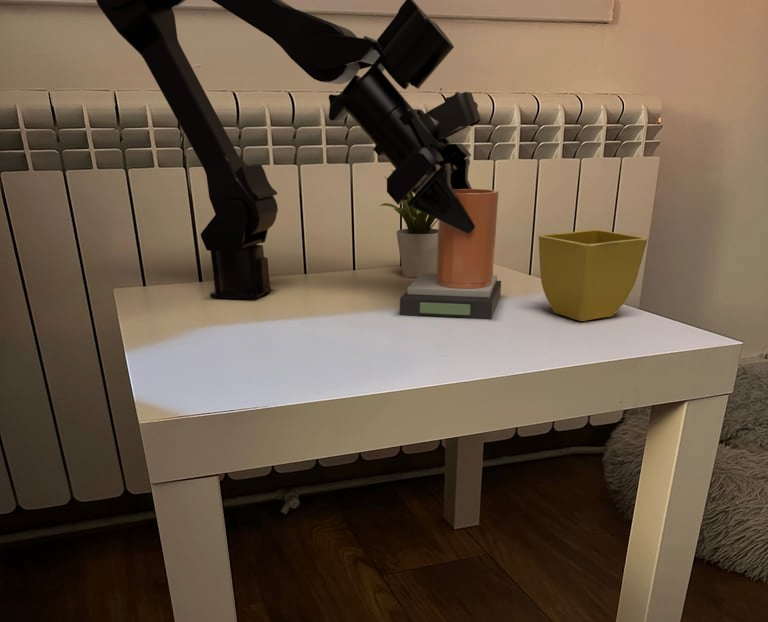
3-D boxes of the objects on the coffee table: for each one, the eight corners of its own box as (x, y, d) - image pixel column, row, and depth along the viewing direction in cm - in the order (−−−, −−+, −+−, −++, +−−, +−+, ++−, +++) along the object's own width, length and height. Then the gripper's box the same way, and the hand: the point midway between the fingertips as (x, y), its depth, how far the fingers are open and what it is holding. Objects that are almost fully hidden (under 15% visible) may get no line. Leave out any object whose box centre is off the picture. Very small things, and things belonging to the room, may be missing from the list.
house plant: (475, 284, 104) (482, 157, 96) (378, 285, 103) (377, 158, 96) (464, 267, 116) (469, 153, 108) (377, 268, 116) (376, 154, 108)
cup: (453, 290, 86) (458, 194, 81) (427, 280, 92) (429, 190, 87) (502, 285, 89) (509, 192, 84) (473, 276, 94) (478, 187, 89)
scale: (399, 315, 87) (399, 291, 86) (418, 293, 99) (419, 271, 97) (490, 319, 85) (492, 295, 84) (500, 296, 97) (501, 274, 95)
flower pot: (578, 328, 81) (588, 243, 77) (530, 312, 88) (536, 234, 84) (637, 319, 85) (649, 237, 80) (586, 304, 92) (595, 229, 87)
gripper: (416, 57, 72) (518, 180, 75) (457, 68, 88) (540, 170, 90) (344, 145, 78) (441, 257, 80) (395, 141, 94) (474, 235, 96)
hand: (478, 226), depth 87 cm, fingers closed on cup, 7 cm apart
